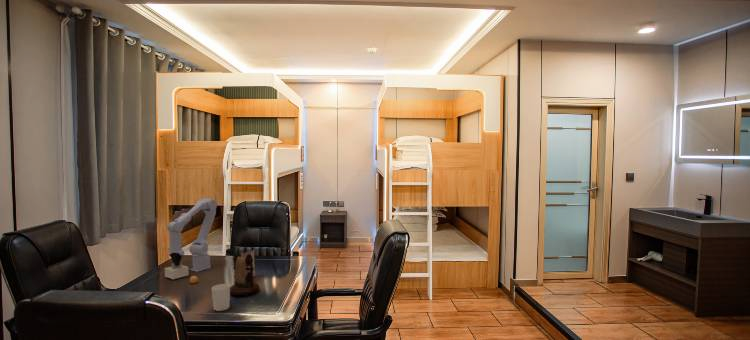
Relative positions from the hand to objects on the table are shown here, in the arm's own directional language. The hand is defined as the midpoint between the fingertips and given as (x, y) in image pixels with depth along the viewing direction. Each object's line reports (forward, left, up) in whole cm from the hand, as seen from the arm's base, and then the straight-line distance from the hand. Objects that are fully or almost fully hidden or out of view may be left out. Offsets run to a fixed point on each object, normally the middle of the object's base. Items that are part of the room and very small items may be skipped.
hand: (176, 265), depth 217 cm
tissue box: (0, 0, -6) cm, 6 cm away
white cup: (+11, +62, -7) cm, 63 cm away
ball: (0, +18, -5) cm, 19 cm away
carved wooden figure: (-21, +40, -7) cm, 45 cm away
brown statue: (-7, +54, -7) cm, 54 cm away
